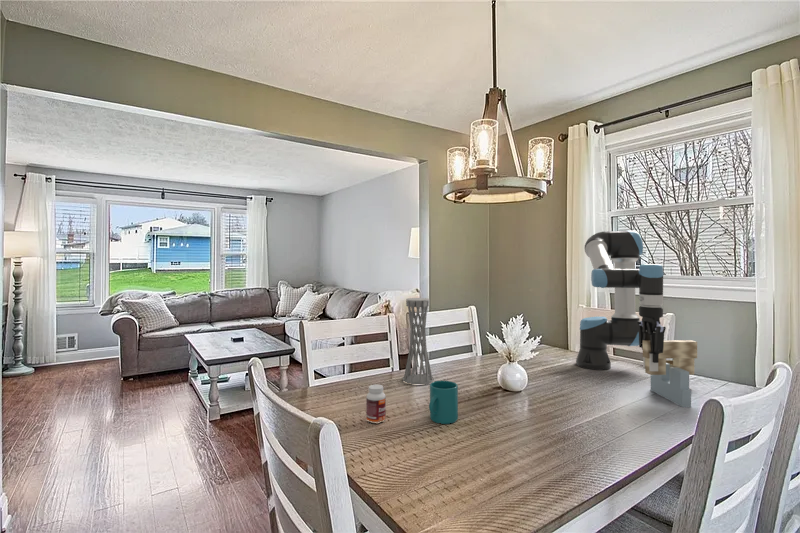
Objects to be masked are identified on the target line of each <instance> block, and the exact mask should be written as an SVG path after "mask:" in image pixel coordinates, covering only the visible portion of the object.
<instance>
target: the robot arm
mask: <svg viewBox="0 0 800 533" xmlns="http://www.w3.org/2000/svg"><path fill="white" fill-rule="evenodd" d="M643 244H644V243H643V238H642V236H641V234H640V233H639V232H638V231H636V230H616V231H615V230H613V231H612V230H610V231H609V230H608V231H607V230H606V231H605V230H604V231H599V232H596V233H595V234H592V235H591V236H590V237H589V238H588V239H587V240H586V241H585V244H584V252H585V254H586V256H587V257H588V258H589V259H590V262H591V266H592V268H593V269H592V271H591V275H590V276H591V277H590V281H591V286H593V287H594V288H601V289H604V288H605V289H607V288H610V289H611V288H612V289H614V313H613V314H612V315H611V319H608V318H607V317H606V316H589V317H588V316H587V317H584V318H582V319H580V322H579V350H578V353H577V356H576V359H575V364H576V366H578V367H580V368H583V369H587V370H588V369H589V370H599V371H600V370H609V369H611V368H612V362H611V360H610V357H609V353H608V349H607V348H608V346H624V347H625V346H626V347H639V348H641V349H642V351H643V340H650V345H651V352H649V353H650V358H649V371H658V362H659V353H663V346H664V340H665V333H666V329H667V328H666V326H665V325H664V326H663V325H661V320H660V319H661V318H663V317H664V308H663V307H662V306H664V276H665V273H664V266H663V265H662V264H658V263H657V264H656V263H655V264H653V263H650V264H649V263H646V264H645V263H644V264H643V263H641V264H640V265H639V268H636V262H637V261H638V260H639V257H640V256H642V255H643V253H644V245H643ZM636 289H638V291H639V292H638V295H639V297H638V301H639V303H638V304H639V305H640V306H638V315H637V312H636V306H637V305H636ZM640 317H641V320H640ZM642 360H643V361H642V364H643V366H642V368H643V369H645V357H643V356H642Z"/></svg>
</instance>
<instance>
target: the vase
mask: <svg viewBox="0 0 800 533" xmlns="http://www.w3.org/2000/svg"><path fill="white" fill-rule="evenodd" d="M405 301H406V303H405V306H406V307H407V308H408V309H407V310H408V318H409V326H410V330H409V331H410V332H409V347H408V348H409V349H408V355H407V360H406V365H405V368H404V369H405V371H404V375H403V377H402V378H401V380H402V379H403V381H405V382H407V383H411V384H429V383H431V382H433V381H434V382H435V377H433V375H432V374H433V373H432V369H431V364H430V359H429V355H428V354H429V353H428V348H427V334H426V325H427V313H428V307H430V299H429V298H427V297H409V298H406V300H405ZM415 308H416V310H415ZM420 309H421V312H420ZM415 311H416V312H415ZM420 347H421V348H420ZM418 357H419V371H418V363H417V362H418ZM423 360H424V361H423ZM412 361H413V366H412ZM411 370H412V371H411ZM418 372H419V373H418ZM403 381H402V382H403ZM429 385H430V384H429Z"/></svg>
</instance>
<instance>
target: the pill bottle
mask: <svg viewBox="0 0 800 533" xmlns="http://www.w3.org/2000/svg"><path fill="white" fill-rule="evenodd" d="M365 398H366V402H365V403H366V406H365V407H366V408H365V409H366V410H365V411H366V414H365V415H366V421H367V420H369V421H372V422H380V421H383V420H385V421H386V419H385V418H386V412H387V408H386V406H387V405H386V400H387V398H386V394H385V392H384V385H382V384H371V385H368V393H367V394H366V397H365Z"/></svg>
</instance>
